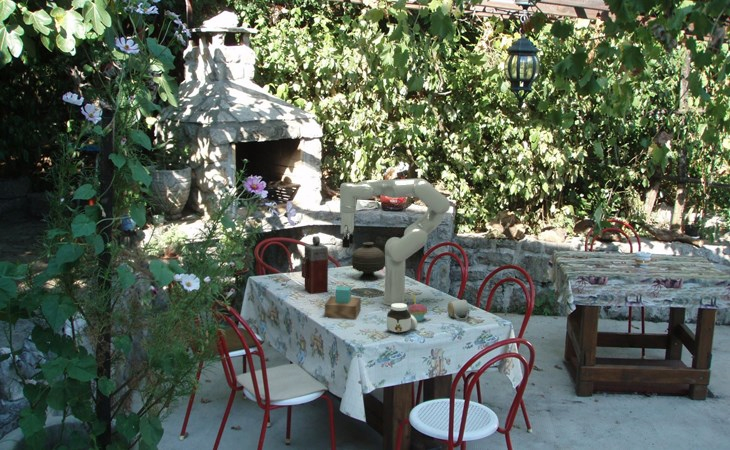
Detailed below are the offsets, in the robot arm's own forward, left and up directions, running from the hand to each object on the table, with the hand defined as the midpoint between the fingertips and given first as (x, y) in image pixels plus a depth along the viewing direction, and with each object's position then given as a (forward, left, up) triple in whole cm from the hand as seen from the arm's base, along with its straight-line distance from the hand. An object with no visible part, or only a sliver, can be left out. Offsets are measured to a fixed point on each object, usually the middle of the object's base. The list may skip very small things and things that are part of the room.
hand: (347, 245), depth 365 cm
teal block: (-1, +17, -22) cm, 28 cm away
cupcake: (-35, +19, -28) cm, 49 cm away
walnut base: (-1, +17, -28) cm, 33 cm away
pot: (-3, -49, -28) cm, 57 cm away
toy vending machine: (+20, -18, -28) cm, 39 cm away
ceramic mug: (-53, +12, -29) cm, 62 cm away
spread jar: (-30, +36, -29) cm, 55 cm away
